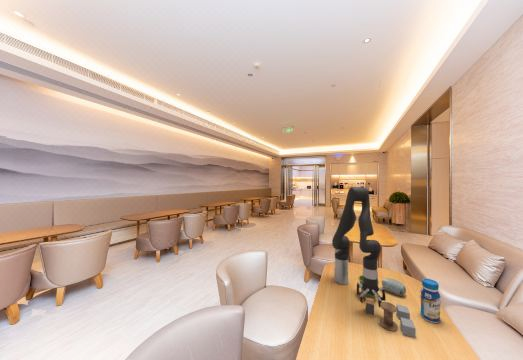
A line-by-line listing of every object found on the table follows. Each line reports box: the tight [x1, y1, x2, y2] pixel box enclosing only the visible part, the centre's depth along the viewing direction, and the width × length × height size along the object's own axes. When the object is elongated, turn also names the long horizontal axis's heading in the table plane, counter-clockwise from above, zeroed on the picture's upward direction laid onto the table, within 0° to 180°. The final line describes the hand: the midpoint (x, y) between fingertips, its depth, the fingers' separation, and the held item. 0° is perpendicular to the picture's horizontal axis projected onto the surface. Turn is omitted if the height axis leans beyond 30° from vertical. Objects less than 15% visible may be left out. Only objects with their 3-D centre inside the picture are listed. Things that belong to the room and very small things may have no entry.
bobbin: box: [378, 301, 399, 332], centre depth 101 cm, size 8×8×10 cm
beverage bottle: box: [419, 278, 442, 324], centre depth 106 cm, size 8×8×20 cm
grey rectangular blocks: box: [395, 304, 416, 339], centre depth 102 cm, size 5×18×4 cm, turn 154°
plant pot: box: [358, 274, 380, 300], centre depth 125 cm, size 12×12×11 cm
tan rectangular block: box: [365, 297, 375, 316], centre depth 111 cm, size 4×4×7 cm
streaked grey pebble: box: [381, 277, 407, 297], centre depth 130 cm, size 14×10×10 cm
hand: (370, 304), depth 111 cm, fingers open, 8 cm apart
